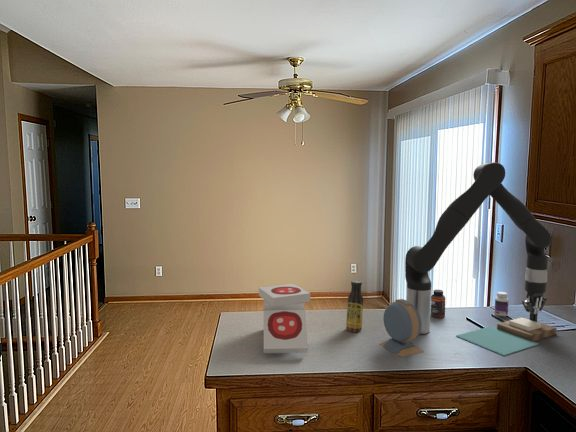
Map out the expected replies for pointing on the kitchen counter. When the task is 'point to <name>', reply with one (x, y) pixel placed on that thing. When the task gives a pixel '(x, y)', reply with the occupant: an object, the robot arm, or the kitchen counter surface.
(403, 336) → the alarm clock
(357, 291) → the sauce bottle
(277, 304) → the pizza boxes
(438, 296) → the supplement bottle
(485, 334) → the mat
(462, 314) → the kitchen counter surface
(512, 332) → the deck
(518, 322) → the tile
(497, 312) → the pill bottle
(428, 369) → the kitchen counter surface
